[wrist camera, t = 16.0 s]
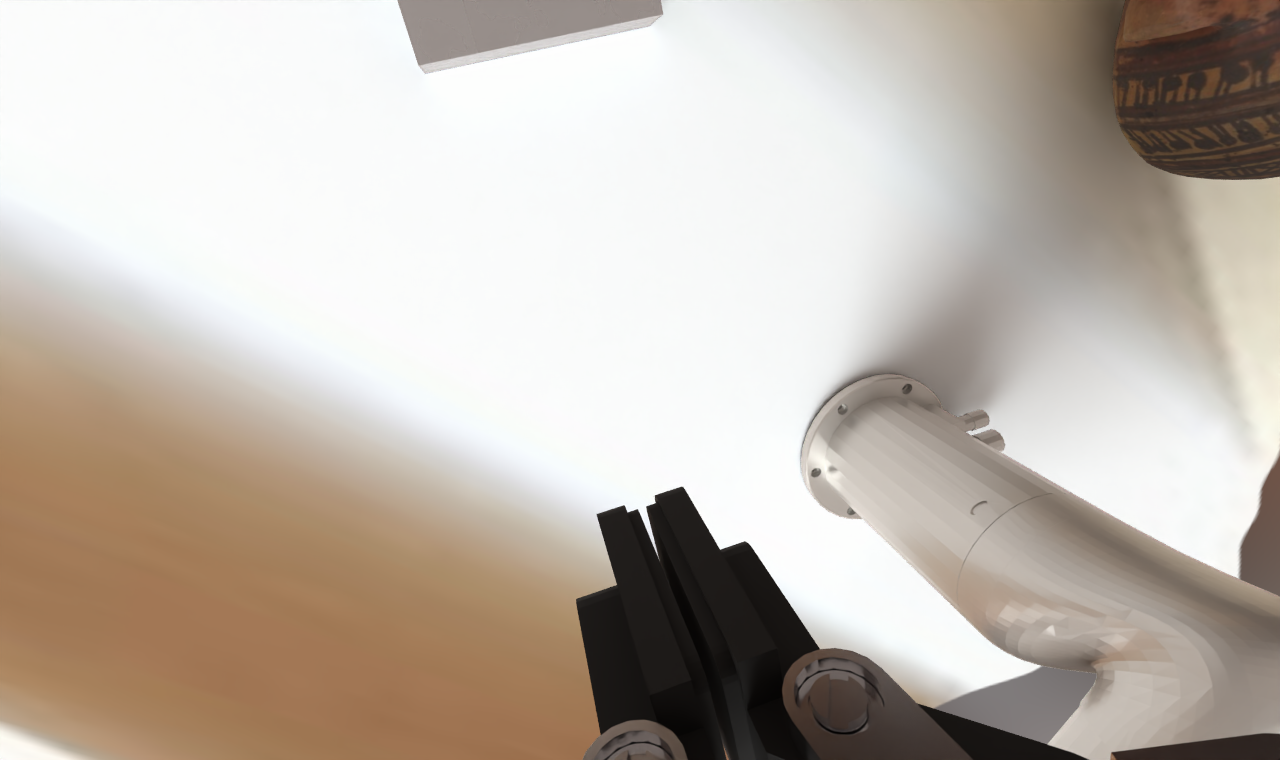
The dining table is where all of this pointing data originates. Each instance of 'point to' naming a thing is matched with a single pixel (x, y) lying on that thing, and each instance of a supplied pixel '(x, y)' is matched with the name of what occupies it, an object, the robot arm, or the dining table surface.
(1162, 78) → the vase
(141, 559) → the dining table surface
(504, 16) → the socket plate
